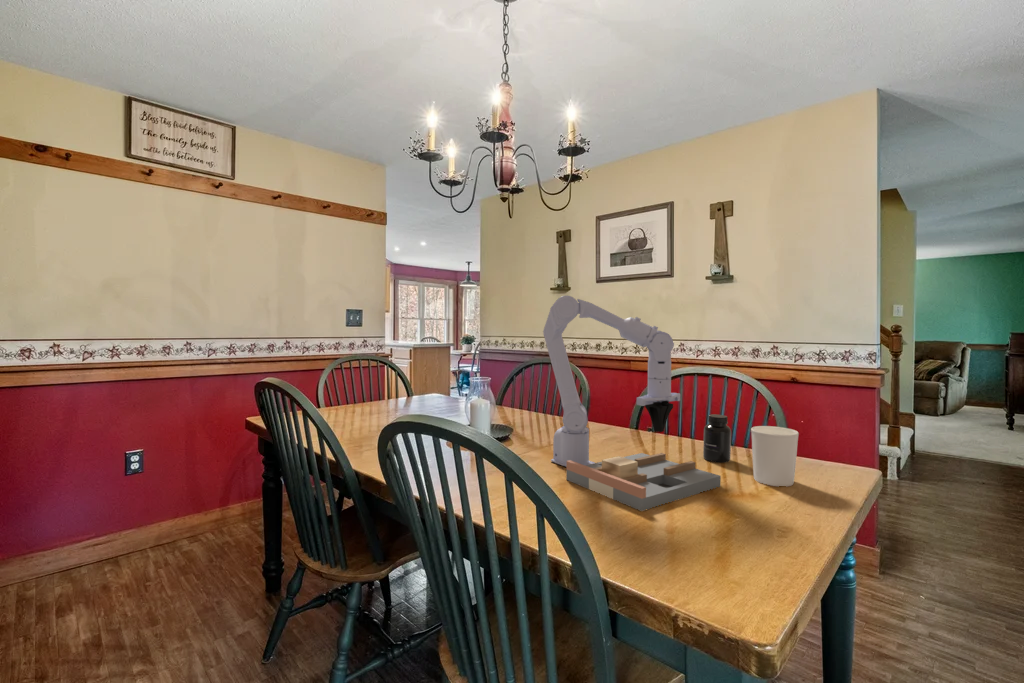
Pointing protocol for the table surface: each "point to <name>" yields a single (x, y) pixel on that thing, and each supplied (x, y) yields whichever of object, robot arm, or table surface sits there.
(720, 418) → the supplement bottle
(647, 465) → the board
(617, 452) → the table surface
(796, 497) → the table surface
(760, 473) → the candle holder
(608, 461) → the maple block
